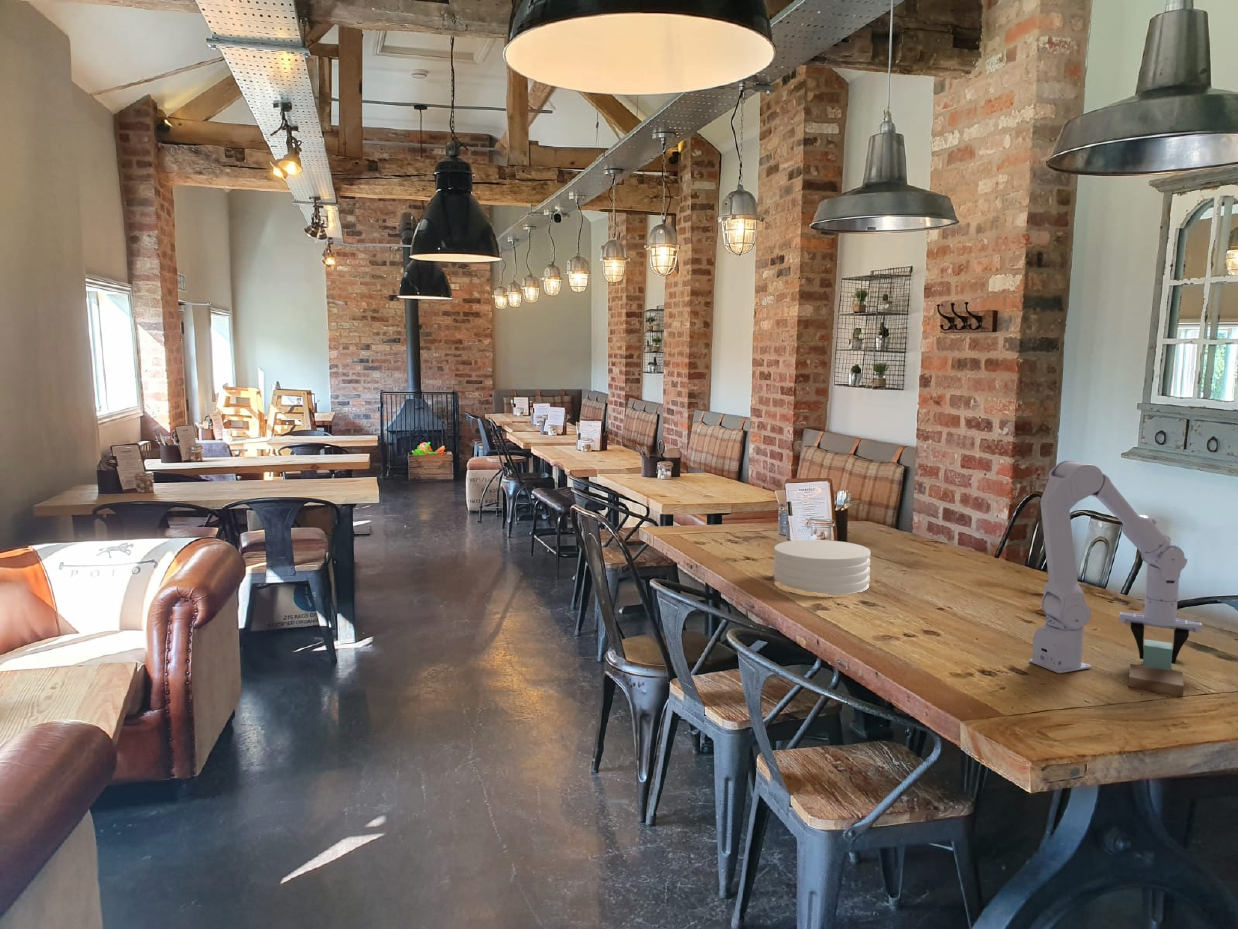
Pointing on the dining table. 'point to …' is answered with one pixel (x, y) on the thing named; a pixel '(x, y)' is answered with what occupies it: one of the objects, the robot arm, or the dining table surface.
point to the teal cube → (1157, 654)
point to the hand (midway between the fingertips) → (1157, 660)
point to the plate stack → (822, 566)
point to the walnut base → (1156, 679)
